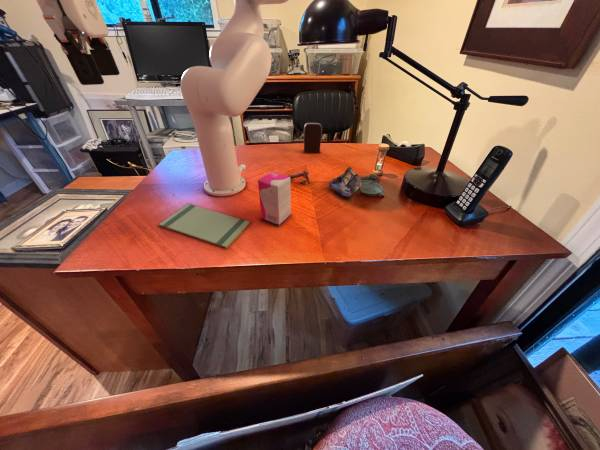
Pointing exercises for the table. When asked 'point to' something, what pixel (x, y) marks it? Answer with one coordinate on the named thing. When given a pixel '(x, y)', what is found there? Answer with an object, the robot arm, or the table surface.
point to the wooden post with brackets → (300, 176)
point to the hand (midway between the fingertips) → (102, 79)
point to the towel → (205, 225)
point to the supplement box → (275, 198)
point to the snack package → (346, 183)
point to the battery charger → (312, 137)
